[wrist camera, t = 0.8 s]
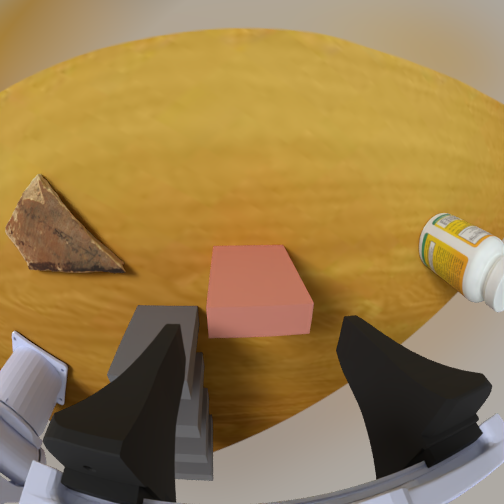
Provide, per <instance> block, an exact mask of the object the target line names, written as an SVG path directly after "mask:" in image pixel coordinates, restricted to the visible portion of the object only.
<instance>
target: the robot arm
mask: <svg viewBox="0 0 504 504" xmlns="http://www.w3.org/2000/svg"><path fill="white" fill-rule="evenodd" d="M12 343H13V354H12V355H11V356H10V358H9V359H8V361H7V362H6V363H5V365H4V366H3V368H2V369H1V371H0V472H1V473H2V474H3V475H5V476H6V477H8V478H9V479H11V480H12V481H7V480H6V479H4V478H3V477H1V476H0V504H4V503H7V502H19V504H185V503H176V492H175V436H176V423H177V416H178V411H179V406H180V400H181V395H182V390H183V385H184V379H185V367H186V356H185V350H184V344H183V338H182V332H181V326H180V324H166V325H165V326H164V327H163V328H162V329H161V331H160V332H159V333H158V335H157V336H156V337H155V338H154V340H153V341H152V342H151V343H150V344H149V346H148V347H147V348H146V349H145V350H144V351H143V353H142V354H141V355H140V356H139V357H138V358H137V359H136V360H135V361H134V362H133V363H132V364H131V365H130V366H129V367H128V368H127V369H126V370H125V371H124V372H123V373H122V374H121V375H120V376H118V377H117V378H116V379H115V380H113V381H112V382H111V383H109V384H108V385H107V386H105V387H104V388H102V389H101V390H99V391H98V392H96V393H95V394H93V395H92V396H90V397H88V398H86V399H85V400H83V401H81V402H79V403H77V404H75V405H73V406H70V407H68V408H66V409H63V410H61V411H59V412H56V413H54V415H53V417H52V419H51V421H50V424H49V426H48V428H47V431H46V433H45V436H44V439H43V441H42V440H41V439H40V438H39V436H40V435H41V434H42V433H43V431H44V429H45V427H46V425H47V422H48V420H49V418H50V416H51V413H52V411H53V409H54V407H55V405H56V403H59V404H61V405H64V402H65V390H66V381H67V373H68V366H67V365H66V364H65V363H63V362H61V361H60V360H58V359H56V358H55V357H53V356H52V355H50V354H48V353H47V352H45V351H44V350H42V349H41V348H39V347H38V346H36V345H35V344H33V343H32V342H30V341H29V340H27V339H26V338H24V337H23V336H22V335H20V334H19V333H17V332H16V331H13V332H12ZM336 352H337V355H338V359H339V362H340V365H341V368H342V370H343V373H344V375H345V377H346V379H347V381H348V383H349V385H350V388H351V390H352V391H353V394H354V396H355V398H356V400H357V402H358V405H359V407H360V410H361V412H362V415H363V418H364V422H365V425H366V429H367V432H368V436H369V440H370V444H371V449H372V453H373V458H374V465H375V472H376V480H374V481H371V482H368V483H365V484H361V485H358V486H355V487H351V488H348V489H344V490H340V491H336V492H331V493H327V494H322V495H317V496H312V497H307V498H301V499H295V500H288V501H280V502H271V503H260V504H448V503H449V502H451V501H453V500H454V499H456V498H457V497H459V496H460V495H462V494H463V493H465V492H466V491H468V490H469V489H470V488H472V487H473V486H475V485H476V484H477V483H479V482H480V481H481V480H483V479H484V478H485V477H487V476H488V475H489V474H490V473H492V472H493V471H494V470H495V469H496V468H497V467H499V466H500V465H501V464H502V463H503V462H504V422H503V420H502V418H501V417H500V416H499V414H498V413H496V414H495V415H493V416H492V417H490V418H489V419H487V420H486V421H484V422H483V423H482V424H481V425H480V426H478V425H477V423H476V422H477V421H478V420H479V418H478V416H477V415H476V413H477V411H478V410H479V409H480V407H481V406H482V405H483V403H484V402H485V401H486V399H487V398H488V396H489V395H490V392H491V389H492V385H491V383H490V382H489V381H488V380H487V378H486V377H485V376H484V375H483V374H481V373H475V372H469V371H464V370H459V369H456V368H452V367H448V366H445V365H442V364H440V363H437V362H434V361H432V360H429V359H427V358H425V357H422V356H420V355H418V354H416V353H414V352H412V351H410V350H409V349H407V348H405V347H403V346H402V345H400V344H398V343H397V342H395V341H394V340H392V339H391V338H389V337H388V336H386V335H385V334H383V333H382V332H380V331H379V330H377V329H376V328H374V327H373V326H372V325H370V324H369V323H367V322H366V321H364V320H363V319H361V318H360V317H358V316H356V315H355V316H345V317H344V320H343V324H342V328H341V333H340V337H339V341H338V345H337V349H336ZM42 442H44V445H45V446H46V448H47V449H48V451H49V452H50V453H51V454H52V455H53V456H54V457H55V458H56V459H57V460H58V461H59V462H60V463H61V464H63V465H64V466H65V469H64V472H63V473H62V472H61V471H59V470H57V469H55V468H53V467H50V466H48V465H46V457H45V452H44V450H43V449H42V448H41V445H42Z"/></svg>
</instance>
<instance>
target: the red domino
mask: <svg viewBox="0 0 504 504" xmlns="http://www.w3.org/2000/svg"><path fill="white" fill-rule="evenodd" d="M313 306H314V303H313V301H312V299H311V297H310V295H309V293H308V291H307V289H306V287H305V285H304V283H303V282H302V280H301V278H300V276H299V274H298V272H297V270H296V268H295V266H294V265H293V263H292V261H291V259H290V257H289V255H288V253H287V251H286V250H285V248H284V246H283V245H248V246H213V254H212V262H211V270H210V279H209V288H208V297H207V306H206V310H207V322H208V333H209V338H238V337H263V336H281V335H295V334H308V333H309V332H310V326H311V320H312V313H313Z"/></svg>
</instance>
